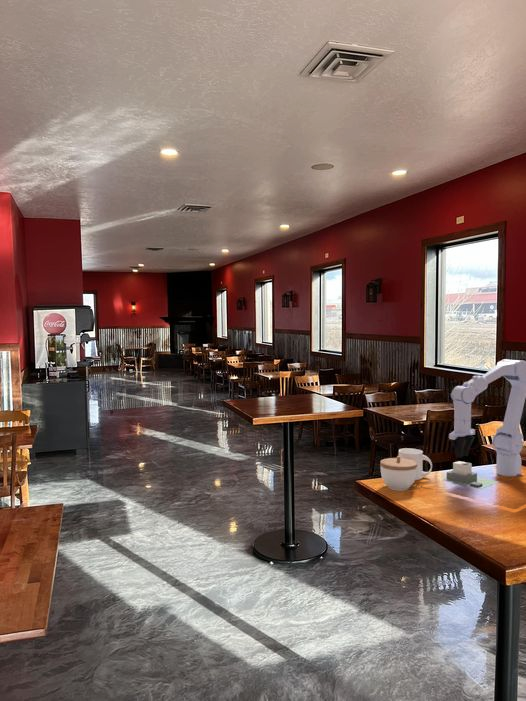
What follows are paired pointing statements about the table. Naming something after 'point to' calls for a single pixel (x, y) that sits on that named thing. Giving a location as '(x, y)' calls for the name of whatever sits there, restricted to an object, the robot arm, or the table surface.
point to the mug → (416, 460)
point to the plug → (462, 468)
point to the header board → (469, 480)
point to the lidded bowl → (398, 473)
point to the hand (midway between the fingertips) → (462, 456)
